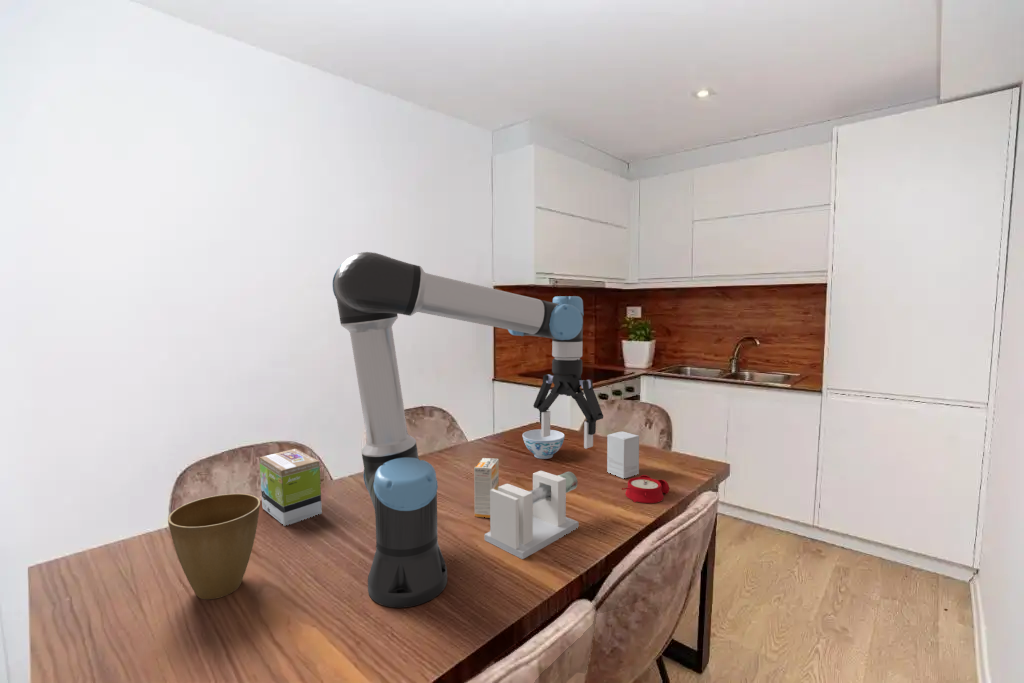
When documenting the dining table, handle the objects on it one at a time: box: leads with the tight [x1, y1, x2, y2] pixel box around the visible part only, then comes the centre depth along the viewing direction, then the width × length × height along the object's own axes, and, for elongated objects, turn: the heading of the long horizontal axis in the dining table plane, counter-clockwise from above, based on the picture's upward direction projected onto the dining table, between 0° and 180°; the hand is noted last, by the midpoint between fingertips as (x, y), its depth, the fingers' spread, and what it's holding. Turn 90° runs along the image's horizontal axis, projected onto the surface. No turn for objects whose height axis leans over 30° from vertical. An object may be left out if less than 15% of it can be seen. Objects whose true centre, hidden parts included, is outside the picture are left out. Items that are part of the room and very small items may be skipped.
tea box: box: [258, 448, 323, 527], centre depth 126 cm, size 15×10×15 cm, turn 47°
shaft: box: [528, 471, 579, 504], centre depth 115 cm, size 23×5×5 cm, turn 136°
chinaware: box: [522, 428, 566, 460], centre depth 171 cm, size 15×15×8 cm
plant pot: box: [167, 493, 261, 600], centre depth 92 cm, size 15×15×16 cm
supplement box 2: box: [606, 430, 640, 479], centre depth 153 cm, size 7×7×13 cm
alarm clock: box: [621, 474, 670, 504], centre depth 136 cm, size 10×6×15 cm
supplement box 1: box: [473, 457, 500, 519], centre depth 126 cm, size 8×5×13 cm, turn 168°
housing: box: [484, 470, 580, 560], centre depth 113 cm, size 20×12×12 cm, turn 136°
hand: (566, 441), depth 121 cm, fingers open, 13 cm apart
